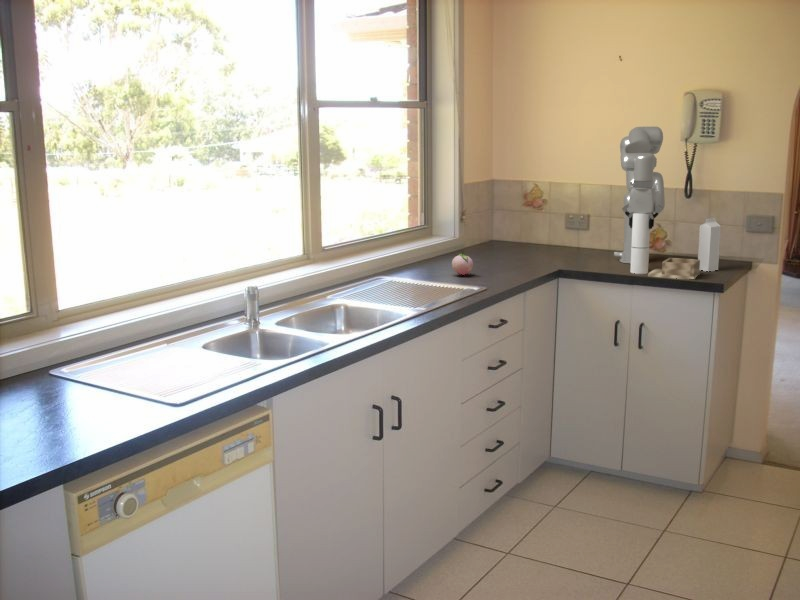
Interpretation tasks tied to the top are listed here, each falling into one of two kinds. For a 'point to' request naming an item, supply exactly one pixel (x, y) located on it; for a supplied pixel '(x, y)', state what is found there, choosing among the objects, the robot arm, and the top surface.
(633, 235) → the cylindrical container
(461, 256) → the decorative fruit
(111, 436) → the top surface
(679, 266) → the board
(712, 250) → the milk
